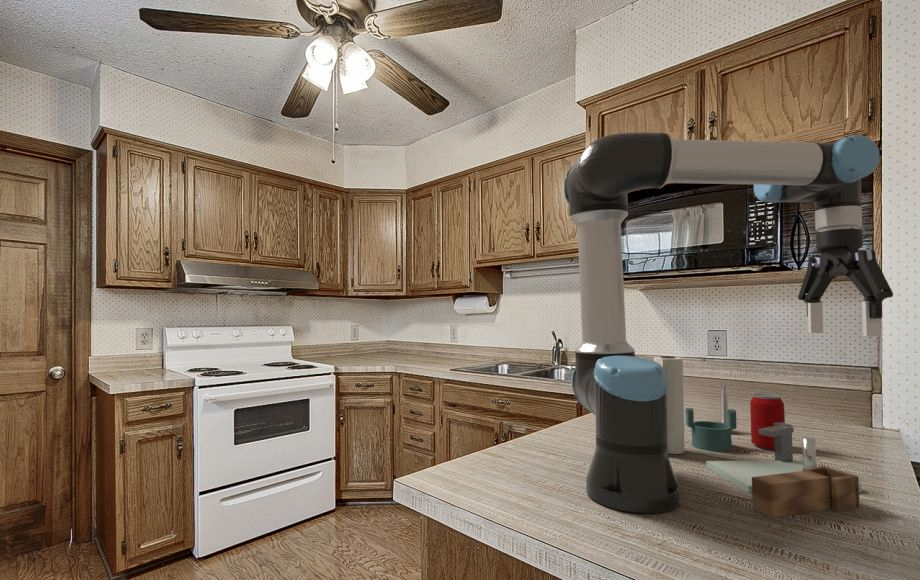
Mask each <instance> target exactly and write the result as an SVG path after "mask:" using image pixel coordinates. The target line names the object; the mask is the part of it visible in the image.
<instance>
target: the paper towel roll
mask: <svg viewBox="0 0 920 580" xmlns="http://www.w3.org/2000/svg"><path fill="white" fill-rule="evenodd" d="M653 361H655V362H657V363H659V364H660V365H661V366H662V367H663V369H664V371H665V378H666V383H667V391H666V403H667V454H669V455H681V454H683V453H685V446H686V445H685V416H684V415H685V414H684V413H685V411H684V370H683V367H684V366H683V365H684V363H683V357H679V356H671V355H665V356H664V355H661V356H654V357H653Z"/></svg>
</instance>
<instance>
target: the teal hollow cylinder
mask: <svg viewBox="0 0 920 580" xmlns="http://www.w3.org/2000/svg"><path fill="white" fill-rule="evenodd" d="M685 425H686V426H687V427H688V428H691V445H692V447H694V448H696V449H698V450H702V451H707V452H715V453H726V452H730V451H732V448H733V447H732V445H733V443H732V431H733V430H736V429H737V428H738V427H737V410H736V409H733V408H732V409H731V408H728V409H727V424H724V423H719V422H716V421H711V420H695V419H694V408H693V407H686V408H685Z"/></svg>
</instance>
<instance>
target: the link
mask: <svg viewBox="0 0 920 580" xmlns="http://www.w3.org/2000/svg"><path fill="white" fill-rule="evenodd" d="M859 483H860V482H859V476H858V475H854V474H851V473H848V472H844V471H842V470H838V469H835V468H832V467H828V466H825V465H820V466H817V467H810V468H803V471H799V472H791V473H782V474H774V475H766V476H757V477H752V493H751V494H752V495H751V498H752V499H751V500H752V509H753V510H755V511H756V512H759V513H761V514H763V515H765V516H768V517H770V518H780V517H785V516H791V515H798V514H804V513H805V514H806V513H811V512H818V511H825V510H826V511H827V510H831V508H832V511H836V512H841V511H842V512H843V511H850V510H855V509H860V492H859V485H860V484H859Z"/></svg>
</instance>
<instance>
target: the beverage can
mask: <svg viewBox="0 0 920 580" xmlns="http://www.w3.org/2000/svg"><path fill="white" fill-rule="evenodd" d="M749 404H750V406H749V407H750V410H749V411H750V412H749V413H750V437H751V438H750V440H751V443H752V444H753V445H755V446H756V447H757V448H759V449H762V450H763V449H764V450H769V451H775V443H774V437H769V436H765V435H760V434H759V429H761V428H766V427H772V426H774V423H776V422H784V423H786V419H785V417H786V416H785V415H786V414H785V403H784V401H783V400H782V398H781V396H780V395H779V394H772V393H753V396H752V398H751V399H750V402H749Z"/></svg>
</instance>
